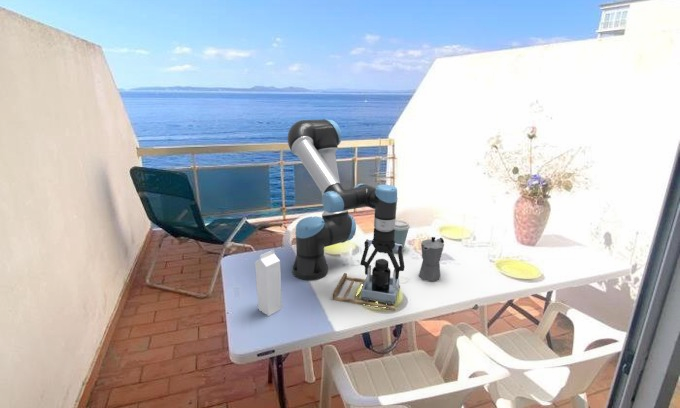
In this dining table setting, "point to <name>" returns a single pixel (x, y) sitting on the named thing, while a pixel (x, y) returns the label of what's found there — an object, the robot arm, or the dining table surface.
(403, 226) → the disposable coffee cup
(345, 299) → the wooden rack
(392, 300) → the shallow square tray
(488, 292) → the dining table surface
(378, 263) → the supplement bottle
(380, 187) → the robot arm
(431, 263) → the coffeepot
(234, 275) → the dining table surface
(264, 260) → the milk
